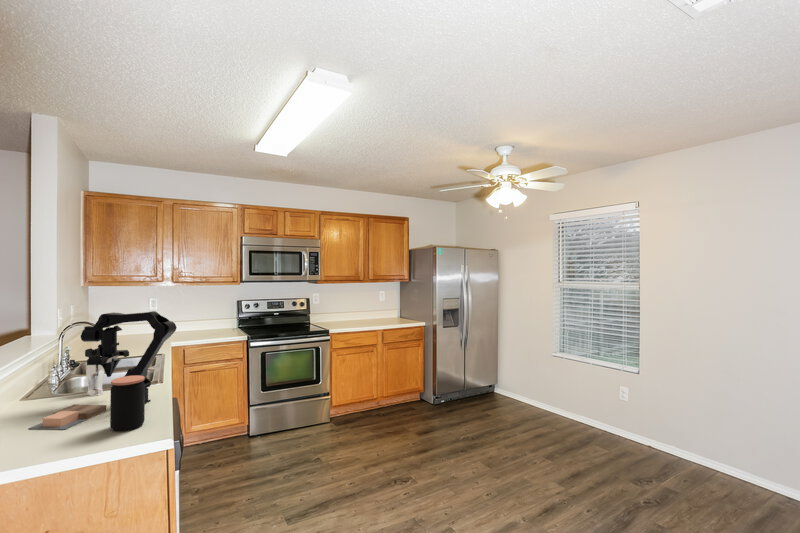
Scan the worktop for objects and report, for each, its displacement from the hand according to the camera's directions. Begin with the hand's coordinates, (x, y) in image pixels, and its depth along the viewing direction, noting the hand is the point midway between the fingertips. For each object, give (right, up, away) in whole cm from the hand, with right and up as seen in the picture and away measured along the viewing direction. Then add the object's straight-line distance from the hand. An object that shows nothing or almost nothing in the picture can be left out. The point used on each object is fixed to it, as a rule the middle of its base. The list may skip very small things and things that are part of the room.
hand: (109, 376), depth 178 cm
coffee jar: (+26, -12, -26) cm, 39 cm away
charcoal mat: (-2, -12, -24) cm, 27 cm away
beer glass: (-16, -12, +14) cm, 25 cm away
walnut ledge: (-2, -12, -14) cm, 18 cm away
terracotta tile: (-2, -11, -23) cm, 26 cm away
